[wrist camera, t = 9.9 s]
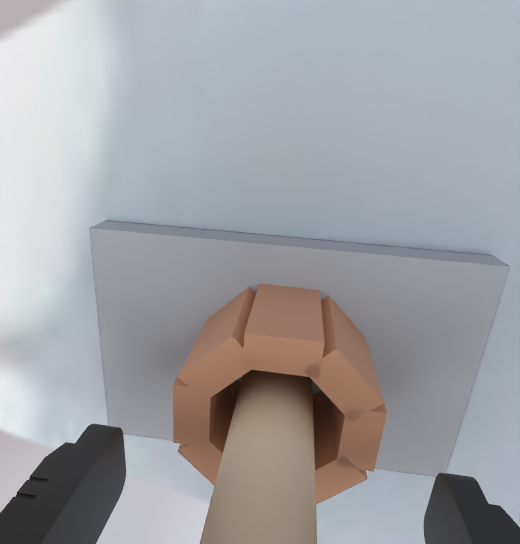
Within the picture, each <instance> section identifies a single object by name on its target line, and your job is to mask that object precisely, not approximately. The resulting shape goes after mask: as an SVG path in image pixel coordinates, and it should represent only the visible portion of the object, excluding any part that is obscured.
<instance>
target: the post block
mask: <svg viewBox="0 0 520 544" xmlns="http://www.w3.org/2000/svg"><path fill="white" fill-rule="evenodd" d="M90 238H91V249H92V259H93V270H94V280H95V291H96V301H97V312H98V322H99V332H100V343H101V353H102V364H103V374H104V385H105V395H106V406H107V416H108V426H113V427H120V428H121V429H122V431H123V434H128V435H136V436H143V437H150V438H157V439H165V440H172V441H173V384H174V382H175V380H176V378H177V376H178V374H179V372H180V370H181V368H182V366H183V364H184V362H185V360H186V359H187V357H188V355H189V353H190V351H191V349H192V347H193V345H194V343H195V341H196V339H197V338H198V336H199V334H200V332H201V330H202V328H203V326H204V324H205V322H206V320H207V319H208V318H209V317H211V316H212V315H213V314H214V313H216V312H217V311H218V310H220V309H221V308H222V307H223V306H225V305H226V304H227V303H229V302H230V301H231V300H233V299H234V298H235V297H236V296H238V295H239V294H240V293H242V292H243V291H244V290H245V289H247V288H248V287H249V286H250V287H251V288H252V289H253V290H254V292H255V293H257V290H258V286H259V284H268V285H277V286H286V287H295V288H304V289H314V290H320V297H321V300H322V299H324V298H325V297H327V296H328V295H329V296H330V297H331V298H332V299H333V300H334V301H335V303H336V304H337V305H338V306H339V307H340V308H341V310H342V311H343V312H344V313H345V314H346V316H347V317H348V318H349V319H350V320H351V321H352V323H353V324H354V325H355V326H356V327H357V328H358V330H359V331H360V332H361V333H362V334H363V335H364V337H365V338H366V342H367V345H368V348H369V352H370V355H371V359H372V362H373V366H374V369H375V372H376V376H377V379H378V383H379V386H380V389H381V393H382V396H383V400H384V404H385V407H386V411H387V417H386V421H385V425H384V430H383V434H382V438H381V442H380V447H379V451H378V455H377V460H376V464H375V468H376V469H383V470H390V471H397V472H405V473H412V474H419V475H427V476H434V477H436V476H437V475H438V474H439V473H446V471H447V468H448V465H449V462H450V458H451V455H452V452H453V449H454V446H455V442H456V439H457V436H458V433H459V429H460V426H461V423H462V420H463V417H464V413H465V410H466V407H467V404H468V401H469V397H470V394H471V391H472V388H473V385H474V381H475V378H476V375H477V372H478V369H479V365H480V362H481V359H482V356H483V352H484V349H485V346H486V343H487V340H488V336H489V333H490V330H491V327H492V324H493V320H494V317H495V314H496V311H497V308H498V304H499V301H500V298H501V295H502V292H503V288H504V285H505V282H506V279H507V275H508V272H509V269H510V266H508V265H507V264H505V263H503V262H502V261H500V260H499V259H497V258H496V257H494V256H493V255H482V254H471V253H459V252H448V251H437V250H426V249H415V248H404V247H393V246H382V245H371V244H360V243H349V242H338V241H327V240H316V239H305V238H294V237H283V236H272V235H260V234H249V233H238V232H227V231H216V230H205V229H194V228H183V227H172V226H161V225H150V224H139V223H128V222H117V221H104V222H102V223H100V224H97V225H95V226H93V227H91V228H90ZM238 380H239V381H240V382H241V385H240V389H239V392H238V396H237V400H236V404H235V408H234V412H233V416H232V420H231V424H230V428H229V431H228V435H227V439H226V443H225V447H224V451H223V455H222V459H221V463H220V467H219V471H218V474H217V478H216V482H215V486H214V490H213V494H212V498H211V502H210V506H209V510H208V514H207V517H206V521H205V525H204V529H203V533H202V537H201V541H200V544H317V525H316V491H315V456H314V421H313V395H314V394H316V393H317V392H319V391H320V390H321V389H320V388H319V387H318V386H317V385H316V383H315V382H314V381H313V380H312V379H311V378H310V377H306V376H298V375H290V374H282V373H275V372H267V371H259V370H250V371H249V372H247V373H246V374H244V375H243V376H242V377H240V378H239V379H238Z"/></svg>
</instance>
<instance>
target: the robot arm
mask: <svg viewBox="0 0 520 544" xmlns="http://www.w3.org/2000/svg"><path fill="white" fill-rule="evenodd" d="M125 478H126V463H125V451H124V439H123V431H122V429H121V428H120V427H113V426H106V425H99V424H91V425H89V426H88V427H87V428H86V430H85V431H84V432H83V434H82V435H81V436H80V438H79V439H78V440H77V442H76V443H75V444H74V443H67V442H66V443H64V444H63V445H62V446H60V447H59V448H57V449H56V450H55V451H53V452H52V453H51V454H49V455H48V456H46V457H45V458H44V460H43V461H42V462H41V463H40V465H39V466H38V467H37V468H36V470H35V471H34V472H33V473H32V474H31V476H30V479H29V480H27V481H26V482H25V483H24V484H23V486H22V487H21V488H20V490H19V491H18V492H17V495H16V497H13V498H12V499H11V501H10V502H9V503H8V504H7V506H6V507H5V508H4V509H3V511H2V512H1V513H0V544H96V542H97V540H98V538H99V536H100V534H101V533H102V530H103V529H104V527H105V525H106V523H107V521H108V519H109V517H110V515H111V513H112V511H113V509H114V507H115V505H116V503H117V501H118V499H119V497H120V495H121V492H122V490H123V486H124V483H125ZM424 537H425V543H426V544H520V527H519V526H518V525H517V524H516V523H515V522H514V521H513V519H512V518H511V517H510V516H509V515H508V514H507V513H506V512H505V511H504V510H503V509H502V507H501V506H498V505H491V504H488V502H487V500H486V498H485V496H484V494H483V492H482V490H481V488H480V486H479V484H478V482H477V481H476V480H475V479H474V478H473V477H468V476H461V475H454V474H446V473H439V474H438V475H437V476H436V479H435V483H434V486H433V489H432V493H431V496H430V500H429V503H428V506H427V510H426V513H425V517H424Z"/></svg>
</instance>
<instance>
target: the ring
mask: <svg viewBox="0 0 520 544" xmlns="http://www.w3.org/2000/svg"><path fill="white" fill-rule="evenodd" d="M250 370H259V371H267V372H275V373H282V374H290V375H298V376H306V377H310V378H311V379H312V380H313V381H314V382H315V383H316V385H317V386H318V387H319V388H320V389H321V390H320V391H319V392H317V393H316V394H314V395H313V421H314V456H315V491H316V504H318V503H320V502H322V501H324V500H326V499H328V498H330V497H332V496H334V495H336V494H338V493H340V492H342V491H344V490H346V489H348V488H350V487H352V486H354V485H356V484H358V483H360V482H362V481H364V480H366V479H367V476H366V470H368V471H374V468H375V464H376V460H377V455H378V451H379V447H380V442H381V438H382V434H383V430H384V425H385V421H386V417H387V411H386V407H385V404H384V400H383V396H382V393H381V389H380V386H379V383H378V379H377V376H376V372H375V369H374V366H373V362H372V359H371V355H370V352H369V348H368V345H367V342H366V338H365V337H364V335H363V334H362V333H361V332H360V331H359V330H358V328H357V327H356V326H355V325H354V324H353V323H352V321H351V320H350V319H349V318H348V317H347V316H346V314H345V313H344V312H343V311H342V310H341V308H340V307H339V306H338V305H337V304H336V303H335V301H334V300H333V299H332V298H331V297H330V296H329V295H328V296H327V297H325V298H324V299H322V300H321V297H320V290H314V289H304V288H295V287H286V286H277V285H268V284H259V286H258V290H257V293H255V292H254V290H253V289H252V288H251V287H250V286H249V287H248V288H247V289H245V290H244V291H243V292H242V293H240V294H239V295H238V296H236V297H235V298H234V299H233V300H231V301H230V302H229V303H227V304H226V305H225V306H223V307H222V308H221V309H220V310H218V311H217V312H216V313H214V314H213V315H212V316H211V317H209V318H208V319H207V320H206V322H205V324H204V326H203V328H202V330H201V332H200V334H199V336H198V338H197V339H196V341H195V343H194V345H193V347H192V349H191V351H190V353H189V355H188V357H187V359H186V360H185V362H184V364H183V366H182V368H181V370H180V372H179V374H178V376H177V378H176V380H175V382H174V384H173V442H174V443H181V445H180V447H179V450H178V452H179V453H180V454H181V455H182V456H183V457H184V458H185V459H187V460H188V461H189V462H190V463H191V464H192V465H193V466H194V467H195V468H196V469H197V470H198V471H199V472H200V473H202V474H203V475H204V476H205V477H206V478H207V479H208V480H209V481H210V482H211V483H212V484H213V485H214V486H215V482H216V478H217V474H218V471H219V467H220V463H221V459H222V455H223V451H224V447H225V443H226V439H227V435H228V431H229V428H230V424H231V420H232V416H233V412H234V408H235V404H236V400H237V396H238V392H239V389H240V385H241V382H240V381H239V380H238V379H239V378H240V377H242V376H243V375H244V374H246V373H247V372H249V371H250Z"/></svg>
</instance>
